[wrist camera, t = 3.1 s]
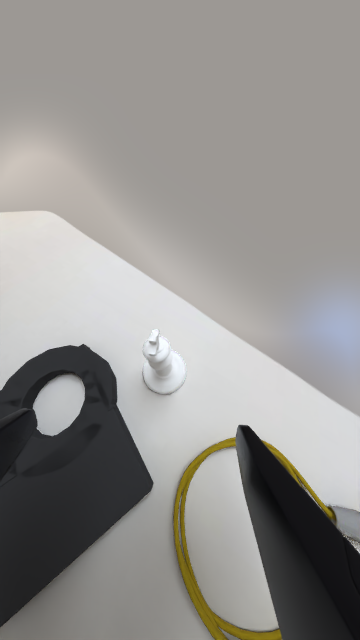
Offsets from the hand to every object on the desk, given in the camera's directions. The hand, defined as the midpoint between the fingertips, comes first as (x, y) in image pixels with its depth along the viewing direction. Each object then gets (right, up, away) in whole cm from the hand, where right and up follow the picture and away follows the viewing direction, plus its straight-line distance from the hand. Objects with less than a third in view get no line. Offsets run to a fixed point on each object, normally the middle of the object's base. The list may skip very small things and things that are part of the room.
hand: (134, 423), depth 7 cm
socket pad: (-9, -7, +9) cm, 15 cm away
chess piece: (0, -1, +12) cm, 12 cm away
